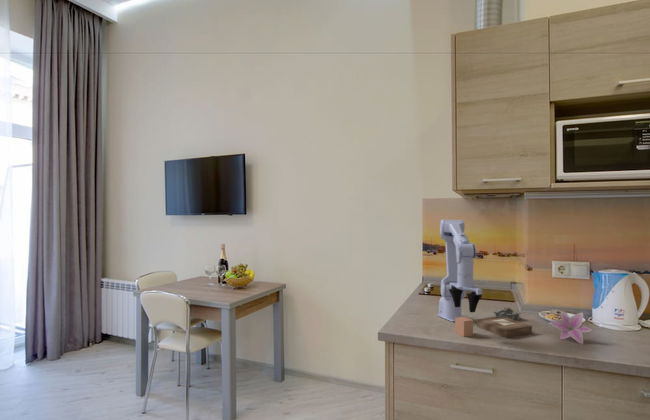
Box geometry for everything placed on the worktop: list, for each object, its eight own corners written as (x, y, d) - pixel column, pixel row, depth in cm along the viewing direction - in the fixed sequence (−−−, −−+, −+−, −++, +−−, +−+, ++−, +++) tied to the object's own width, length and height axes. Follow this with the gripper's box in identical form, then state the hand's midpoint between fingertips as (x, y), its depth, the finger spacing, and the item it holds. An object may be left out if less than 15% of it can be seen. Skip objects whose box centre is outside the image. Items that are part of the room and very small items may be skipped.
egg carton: (509, 315, 164) (510, 306, 164) (523, 320, 157) (523, 311, 157) (490, 316, 162) (491, 308, 162) (503, 322, 154) (503, 312, 154)
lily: (544, 336, 140) (546, 318, 136) (563, 321, 144) (565, 304, 140) (576, 356, 130) (580, 337, 126) (595, 340, 134) (599, 321, 130)
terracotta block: (455, 332, 139) (455, 317, 139) (464, 331, 141) (464, 316, 141) (463, 336, 135) (464, 321, 135) (472, 335, 137) (473, 319, 137)
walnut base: (477, 326, 147) (477, 318, 147) (501, 322, 152) (501, 315, 152) (506, 338, 134) (506, 329, 134) (531, 333, 140) (531, 325, 140)
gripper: (443, 272, 143) (443, 305, 143) (472, 278, 130) (471, 315, 129) (457, 271, 146) (456, 304, 146) (486, 277, 132) (485, 313, 132)
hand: (464, 309), depth 138 cm, fingers open, 7 cm apart
